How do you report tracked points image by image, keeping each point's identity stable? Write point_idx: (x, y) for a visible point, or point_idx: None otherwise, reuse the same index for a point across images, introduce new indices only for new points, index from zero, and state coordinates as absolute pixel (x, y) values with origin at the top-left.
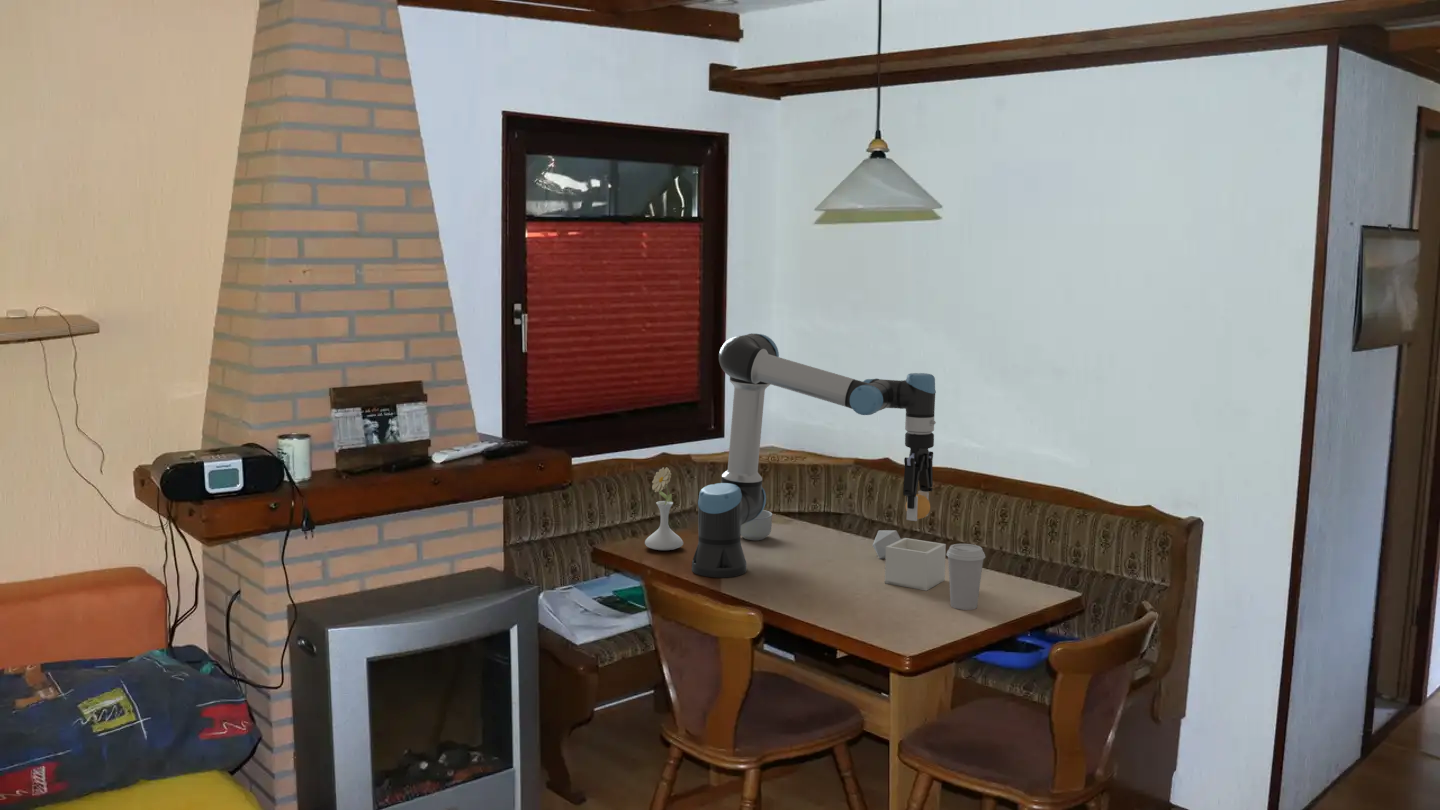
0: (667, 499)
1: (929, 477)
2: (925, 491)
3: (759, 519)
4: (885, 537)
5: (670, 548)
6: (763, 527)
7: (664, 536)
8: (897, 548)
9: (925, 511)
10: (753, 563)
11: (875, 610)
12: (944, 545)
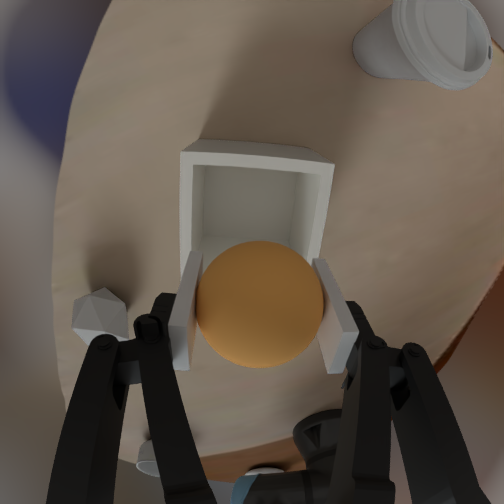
0: None
1: (107, 399)
2: (171, 341)
3: None
4: (113, 332)
5: (278, 469)
6: None
7: None
8: None
9: (294, 251)
10: (275, 420)
11: (456, 203)
12: (192, 151)
